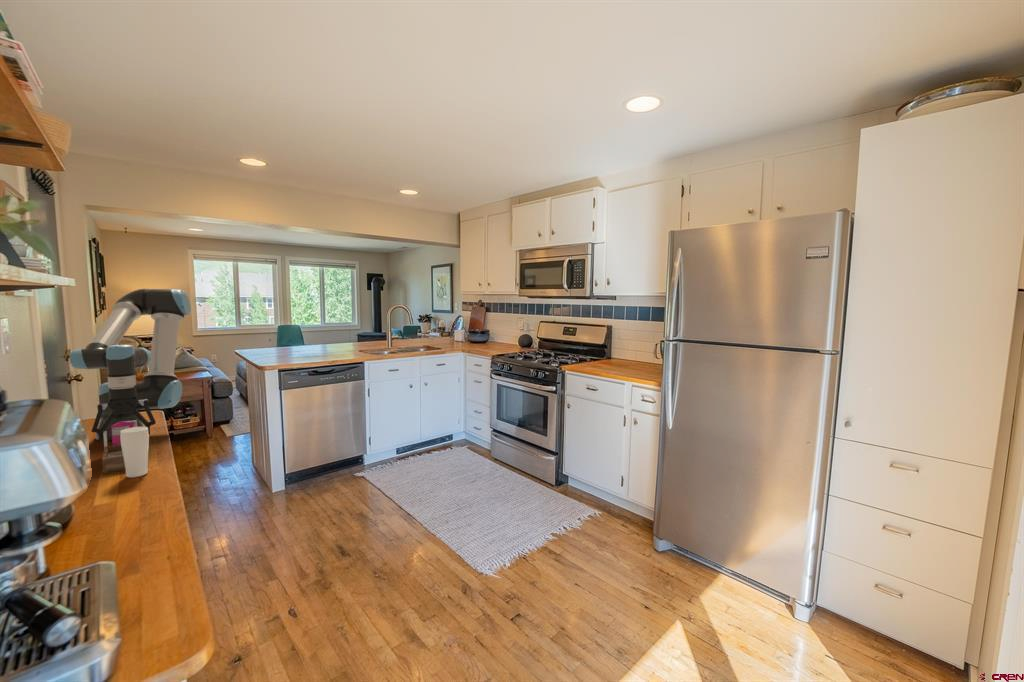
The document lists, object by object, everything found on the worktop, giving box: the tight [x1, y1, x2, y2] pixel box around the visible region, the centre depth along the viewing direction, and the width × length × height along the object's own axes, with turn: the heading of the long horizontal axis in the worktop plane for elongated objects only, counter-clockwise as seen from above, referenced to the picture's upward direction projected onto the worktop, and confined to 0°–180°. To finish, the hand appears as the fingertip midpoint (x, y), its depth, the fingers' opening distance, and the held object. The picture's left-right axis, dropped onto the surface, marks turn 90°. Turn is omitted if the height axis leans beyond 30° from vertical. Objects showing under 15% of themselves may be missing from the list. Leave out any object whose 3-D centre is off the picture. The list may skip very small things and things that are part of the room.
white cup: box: [120, 427, 150, 479], centre depth 137 cm, size 7×7×15 cm
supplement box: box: [111, 420, 137, 446], centre depth 158 cm, size 6×6×12 cm
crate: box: [101, 445, 126, 475], centre depth 147 cm, size 16×11×5 cm
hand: (126, 446), depth 158 cm, fingers open, 10 cm apart
